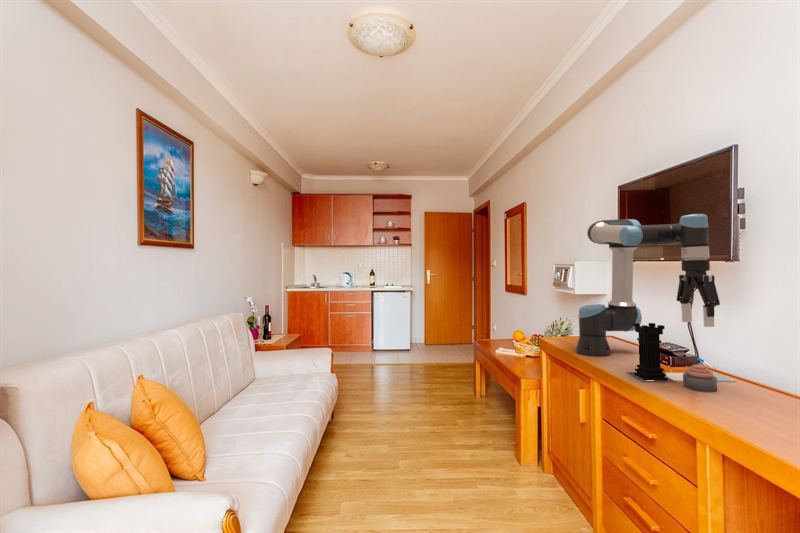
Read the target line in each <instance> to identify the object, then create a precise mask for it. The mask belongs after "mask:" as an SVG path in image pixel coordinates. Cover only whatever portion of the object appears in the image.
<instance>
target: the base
mask: <svg viewBox="0 0 800 533" xmlns="http://www.w3.org/2000/svg"><path fill="white" fill-rule="evenodd" d="M682 373H683V382H682V386H683V388H686V389H688V390H690V391H695V392H696V391H697V392H700V393H701V392H702V393H716V392H717V391H718V382H717V378H716V377H714V376H713V378H697V377H692V376H689V375H687V374H686V372H682Z"/></svg>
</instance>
